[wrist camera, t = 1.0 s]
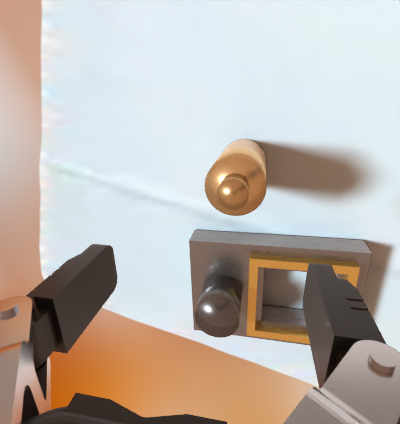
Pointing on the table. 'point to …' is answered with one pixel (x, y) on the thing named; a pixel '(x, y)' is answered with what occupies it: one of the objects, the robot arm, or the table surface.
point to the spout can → (237, 178)
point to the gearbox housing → (261, 280)
